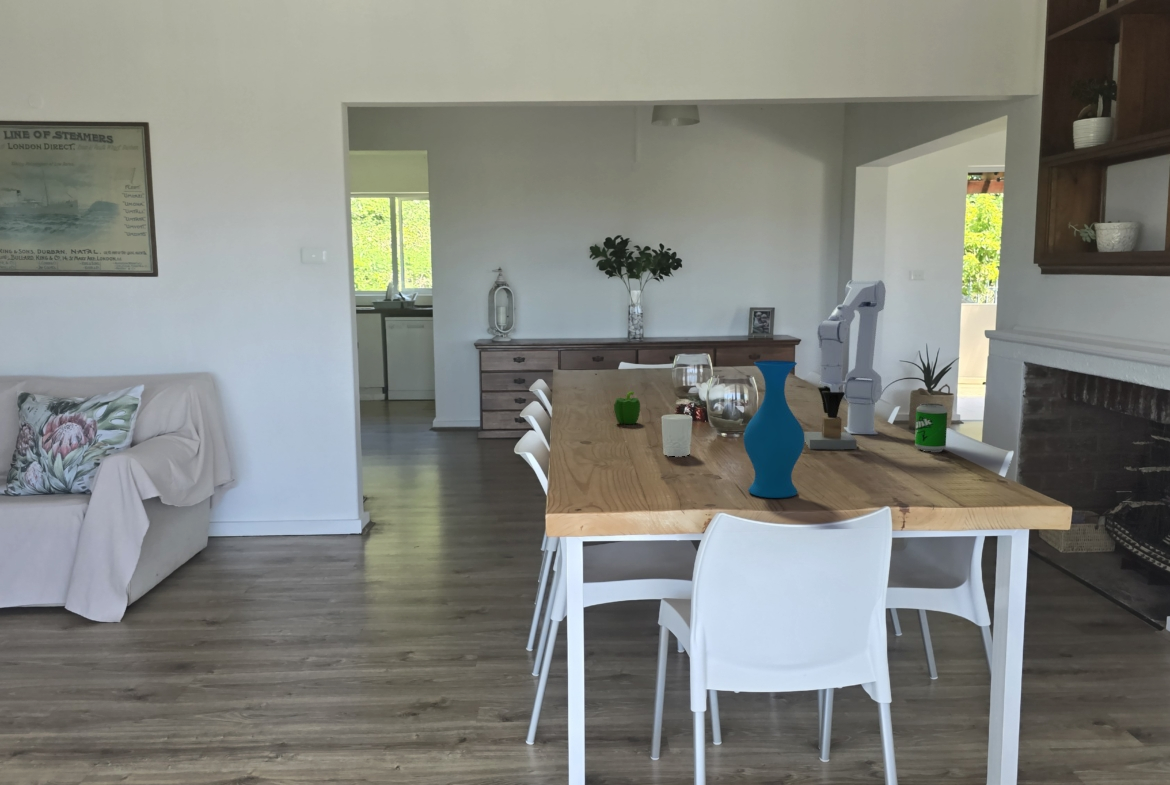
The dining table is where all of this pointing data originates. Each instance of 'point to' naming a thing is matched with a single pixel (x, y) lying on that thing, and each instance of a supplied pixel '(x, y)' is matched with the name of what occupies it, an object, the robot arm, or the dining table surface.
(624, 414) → the bell pepper
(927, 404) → the soda can
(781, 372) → the vase
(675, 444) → the white cup
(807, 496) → the dining table surface
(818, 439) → the plinth
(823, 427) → the walnut cube
